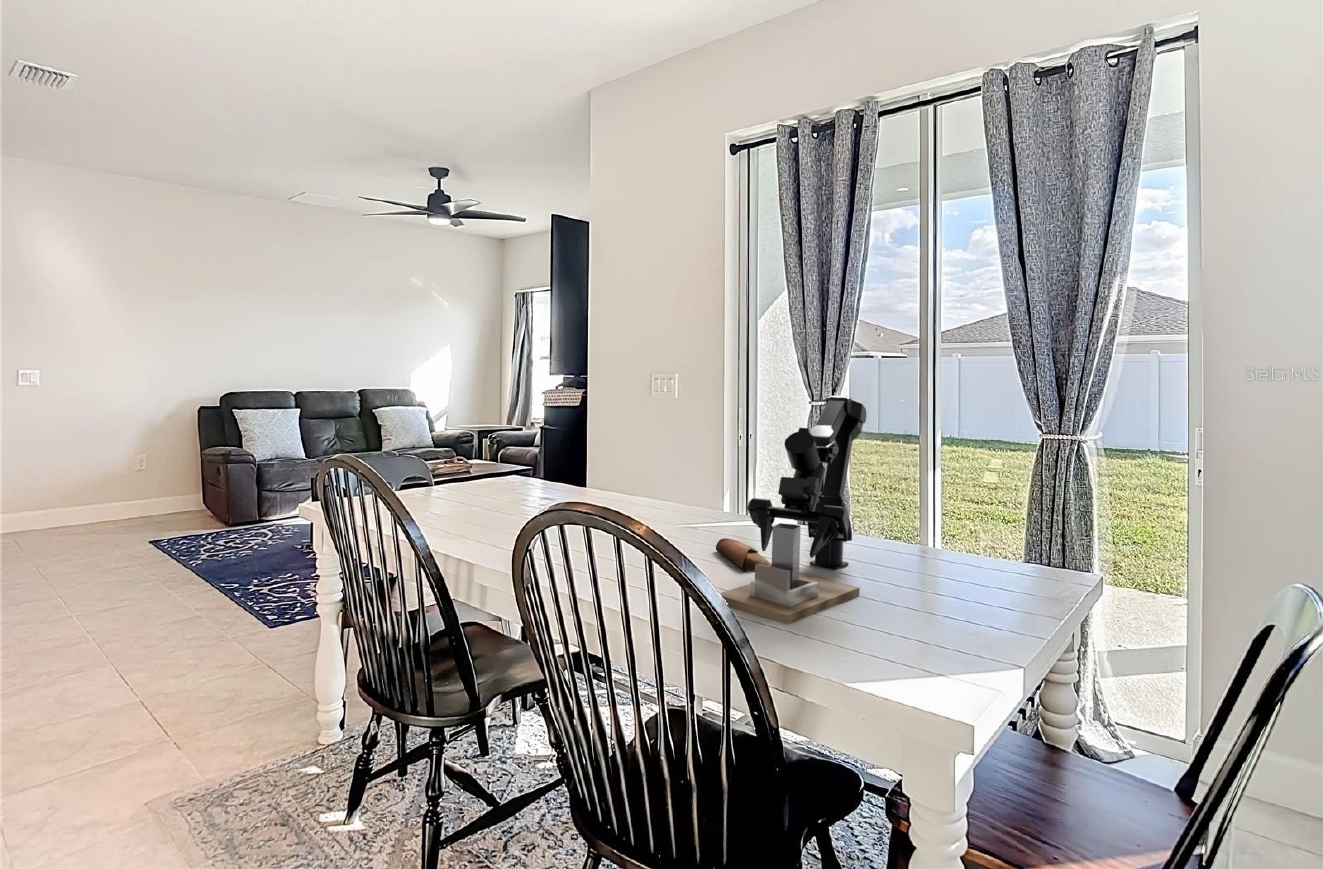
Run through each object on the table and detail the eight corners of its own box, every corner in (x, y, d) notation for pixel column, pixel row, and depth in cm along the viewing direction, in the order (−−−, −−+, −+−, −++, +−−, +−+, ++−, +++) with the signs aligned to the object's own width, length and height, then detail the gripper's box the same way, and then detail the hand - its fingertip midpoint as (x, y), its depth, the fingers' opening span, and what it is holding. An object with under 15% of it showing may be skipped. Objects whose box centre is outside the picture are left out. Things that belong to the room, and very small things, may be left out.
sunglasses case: (778, 569, 157) (765, 544, 155) (752, 587, 155) (738, 561, 154) (747, 549, 174) (735, 527, 173) (724, 565, 173) (711, 542, 171)
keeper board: (790, 577, 150) (791, 542, 150) (859, 595, 139) (860, 557, 138) (715, 602, 133) (716, 562, 133) (787, 624, 122) (788, 580, 121)
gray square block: (777, 590, 136) (779, 523, 135) (798, 594, 134) (800, 525, 133) (770, 596, 132) (772, 526, 131) (791, 599, 131) (793, 529, 129)
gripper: (751, 457, 141) (728, 523, 132) (847, 464, 132) (829, 535, 123) (764, 491, 148) (743, 555, 140) (855, 499, 140) (839, 569, 131)
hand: (786, 553), depth 133 cm, fingers open, 9 cm apart
